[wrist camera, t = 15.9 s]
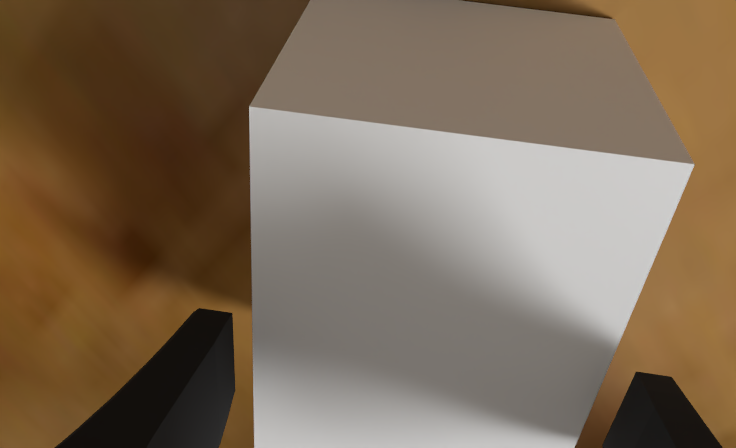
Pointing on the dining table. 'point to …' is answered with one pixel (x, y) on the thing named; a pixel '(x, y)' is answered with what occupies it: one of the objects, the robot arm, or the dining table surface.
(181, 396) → the robot arm
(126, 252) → the dining table surface
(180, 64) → the dining table surface
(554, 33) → the white cardboard carton
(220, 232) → the dining table surface
